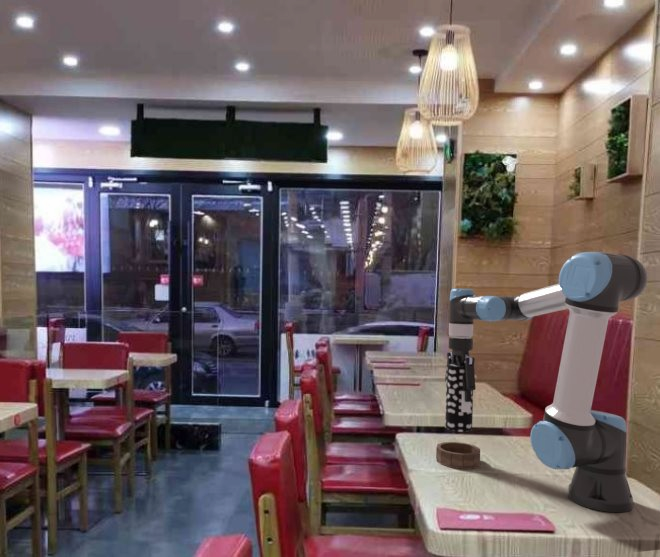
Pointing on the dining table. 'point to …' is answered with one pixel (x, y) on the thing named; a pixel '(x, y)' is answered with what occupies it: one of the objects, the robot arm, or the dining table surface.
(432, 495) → the dining table surface
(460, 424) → the white-spotted black cylinder
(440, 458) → the holder
